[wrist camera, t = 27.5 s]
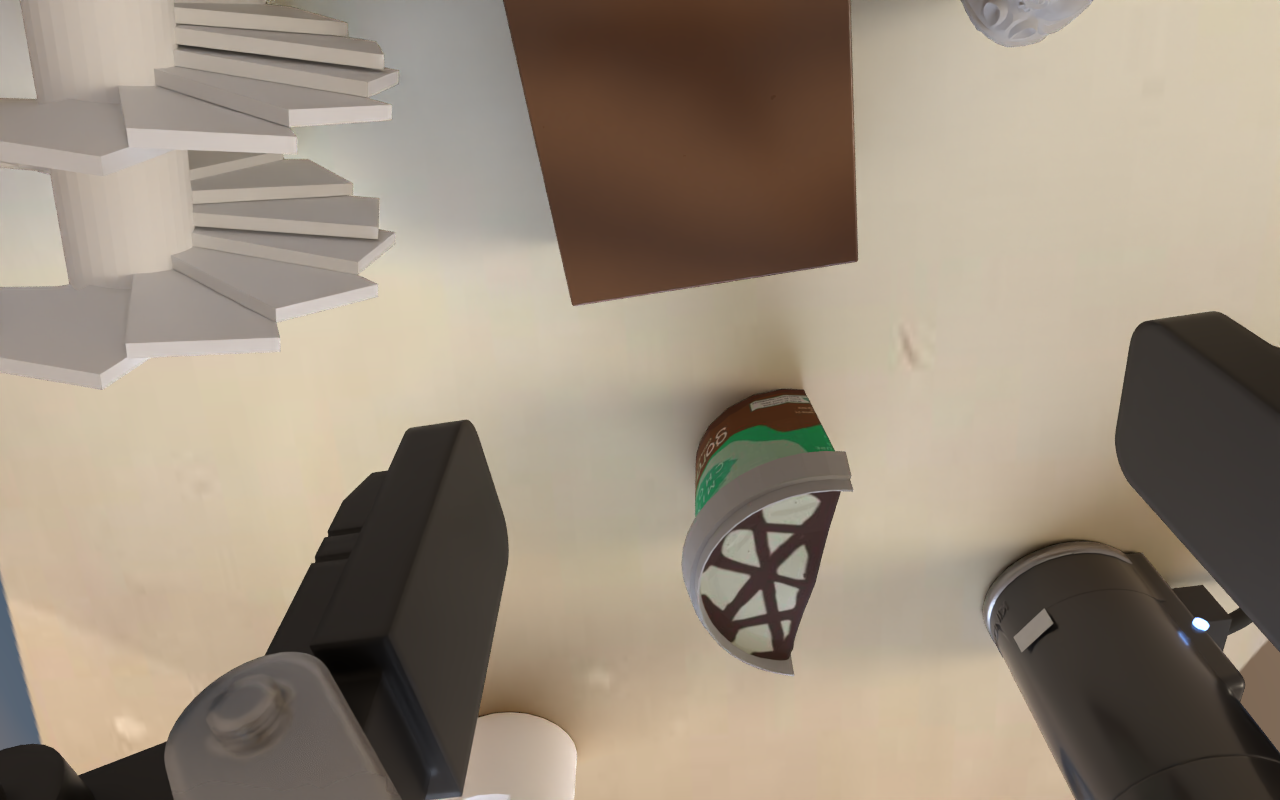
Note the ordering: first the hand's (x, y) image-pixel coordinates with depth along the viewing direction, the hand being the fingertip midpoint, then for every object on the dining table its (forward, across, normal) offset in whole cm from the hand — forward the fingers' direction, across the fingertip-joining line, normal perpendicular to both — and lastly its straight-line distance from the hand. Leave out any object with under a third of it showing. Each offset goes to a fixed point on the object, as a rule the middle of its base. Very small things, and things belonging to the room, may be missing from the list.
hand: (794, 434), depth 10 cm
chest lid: (+21, 0, -2) cm, 22 cm away
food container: (+28, 0, +20) cm, 35 cm away
